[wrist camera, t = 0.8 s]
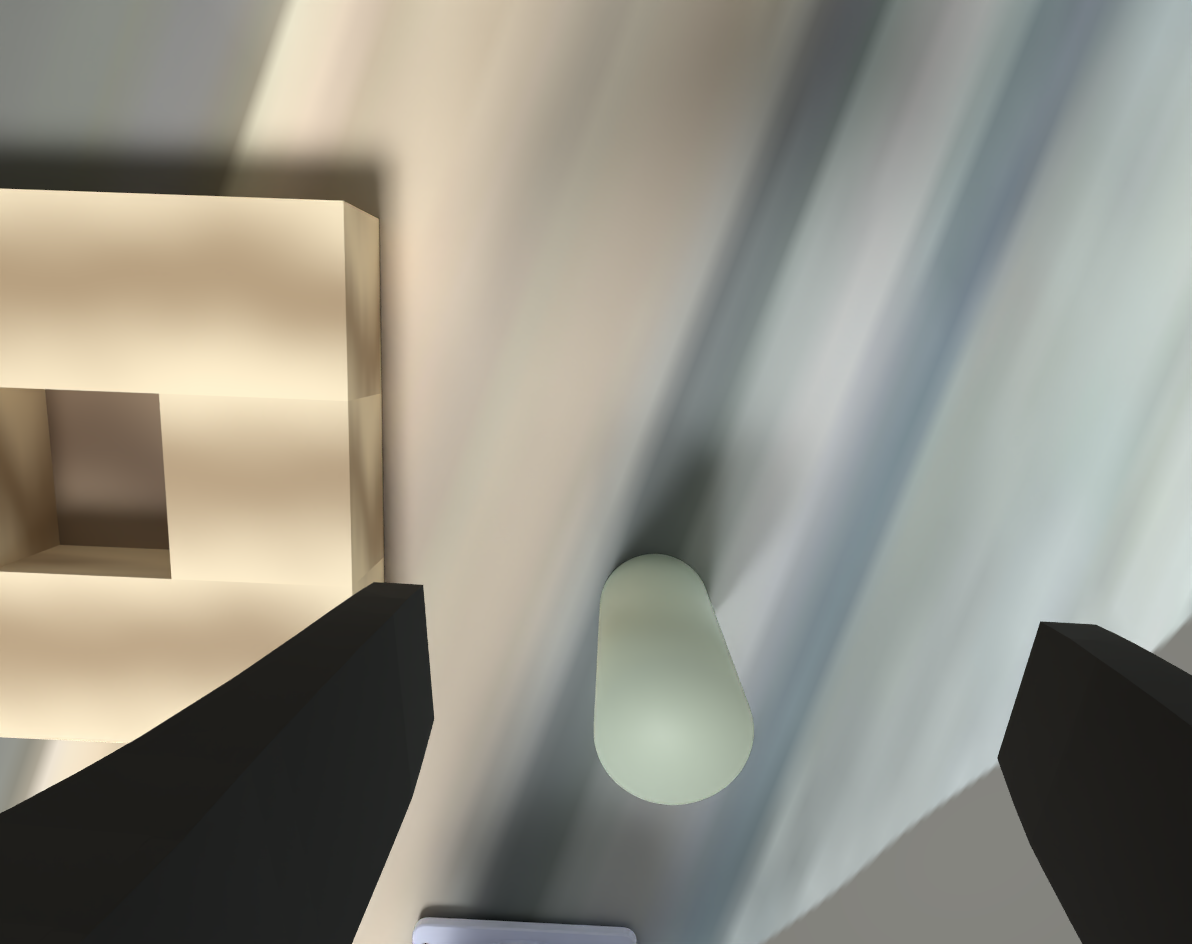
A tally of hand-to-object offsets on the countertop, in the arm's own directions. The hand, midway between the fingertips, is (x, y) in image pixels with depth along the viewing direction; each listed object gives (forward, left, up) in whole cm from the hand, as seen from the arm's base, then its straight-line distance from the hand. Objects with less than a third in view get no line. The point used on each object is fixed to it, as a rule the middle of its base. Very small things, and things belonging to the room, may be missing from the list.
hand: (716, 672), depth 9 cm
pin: (-5, 0, -15) cm, 16 cm away
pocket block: (-1, +17, -15) cm, 22 cm away
